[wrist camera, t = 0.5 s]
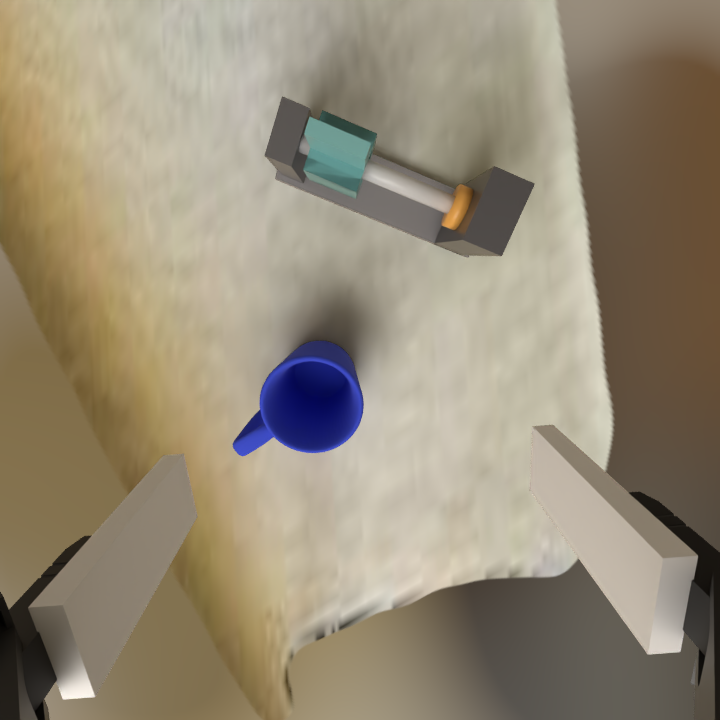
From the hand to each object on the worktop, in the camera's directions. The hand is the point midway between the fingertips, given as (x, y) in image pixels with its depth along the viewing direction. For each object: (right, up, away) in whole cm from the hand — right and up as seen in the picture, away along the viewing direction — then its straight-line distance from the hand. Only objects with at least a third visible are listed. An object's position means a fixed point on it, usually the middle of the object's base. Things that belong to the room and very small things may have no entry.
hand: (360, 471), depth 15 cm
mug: (-6, +2, +27) cm, 27 cm away
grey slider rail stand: (+2, +20, +22) cm, 30 cm away
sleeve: (-1, +20, +17) cm, 26 cm away
